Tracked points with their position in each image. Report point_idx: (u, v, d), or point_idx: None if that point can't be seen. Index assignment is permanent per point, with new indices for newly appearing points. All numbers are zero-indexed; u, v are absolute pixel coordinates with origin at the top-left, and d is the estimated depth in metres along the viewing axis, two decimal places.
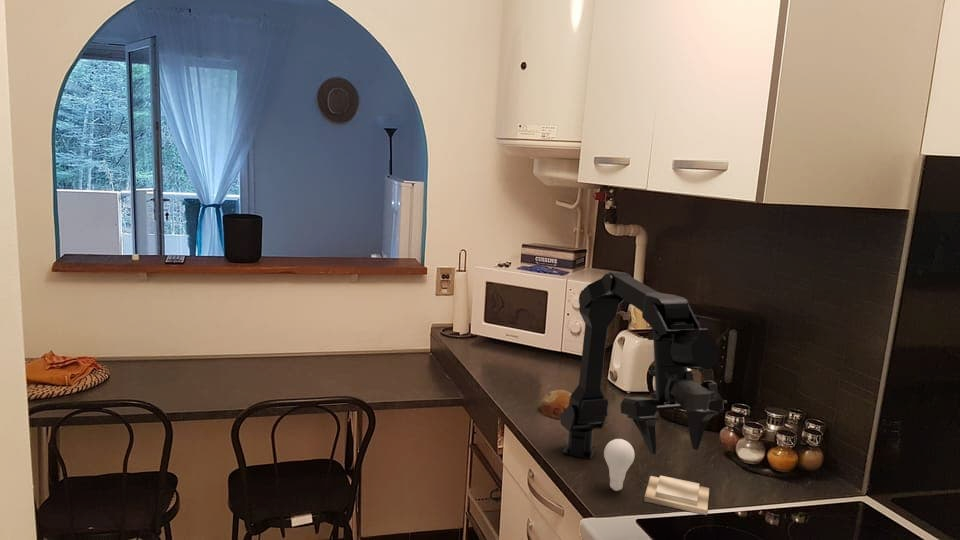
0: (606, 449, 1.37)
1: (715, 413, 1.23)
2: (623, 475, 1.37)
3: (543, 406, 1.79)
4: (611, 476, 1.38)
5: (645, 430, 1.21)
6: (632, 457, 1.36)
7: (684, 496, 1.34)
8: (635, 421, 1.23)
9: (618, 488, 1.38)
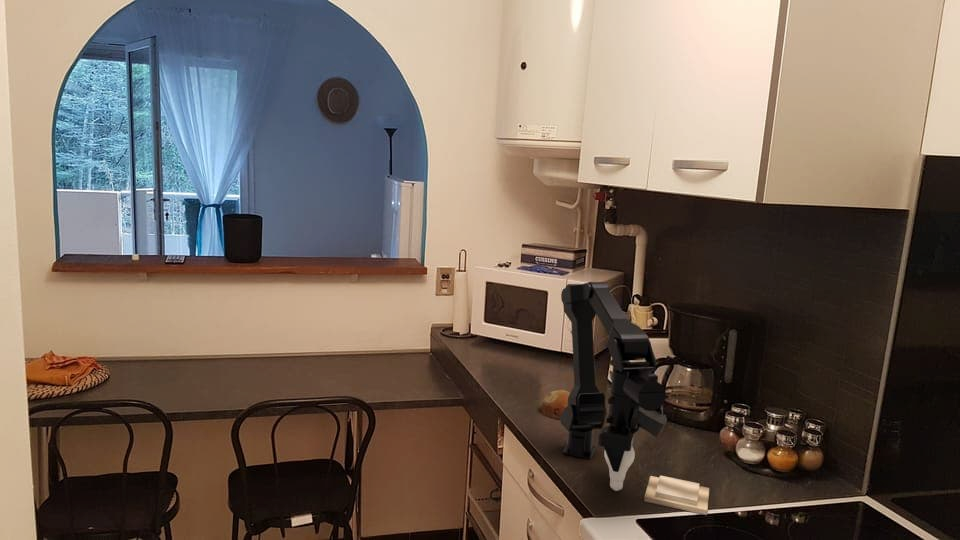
0: None
1: (639, 427, 1.42)
2: (623, 475, 1.37)
3: (543, 406, 1.79)
4: (611, 476, 1.38)
5: (615, 453, 1.34)
6: (632, 457, 1.36)
7: (684, 496, 1.34)
8: None
9: (618, 488, 1.38)
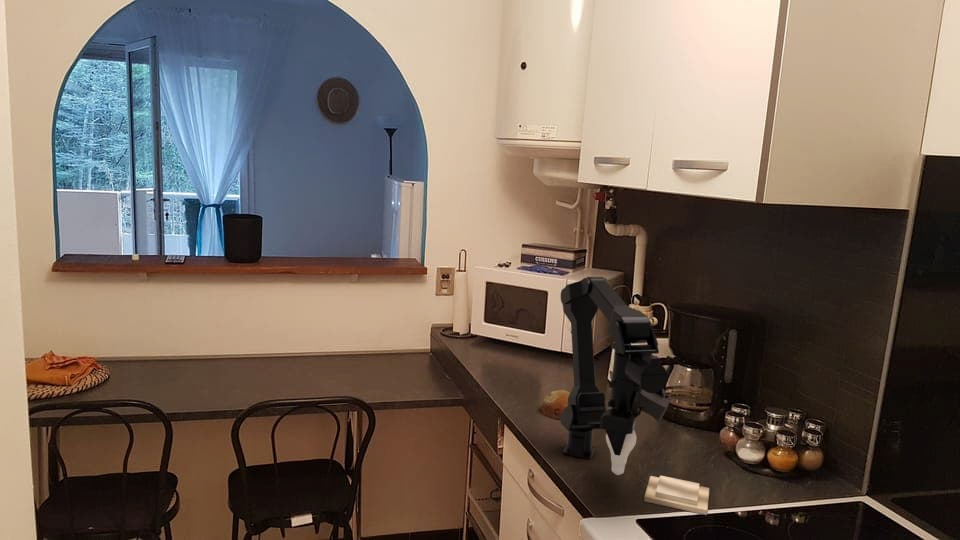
0: None
1: (640, 411, 1.41)
2: (625, 459, 1.37)
3: (544, 406, 1.79)
4: (613, 460, 1.37)
5: (616, 436, 1.33)
6: (634, 440, 1.35)
7: (684, 496, 1.34)
8: (607, 429, 1.33)
9: (620, 472, 1.37)
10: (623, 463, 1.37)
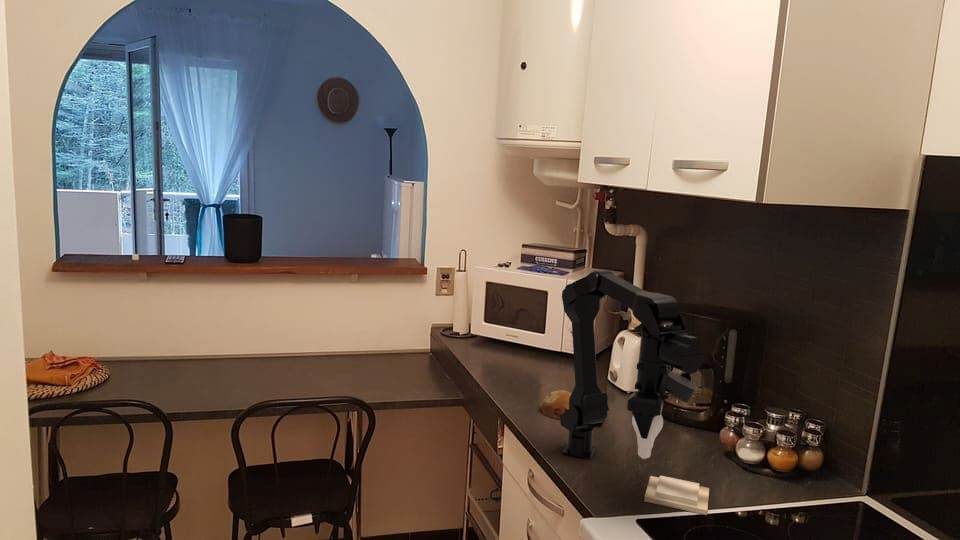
0: None
1: None
2: (651, 442, 1.35)
3: (544, 406, 1.79)
4: (639, 443, 1.36)
5: (643, 419, 1.32)
6: (661, 424, 1.34)
7: (684, 496, 1.34)
8: (633, 412, 1.32)
9: (646, 455, 1.36)
10: (650, 447, 1.35)
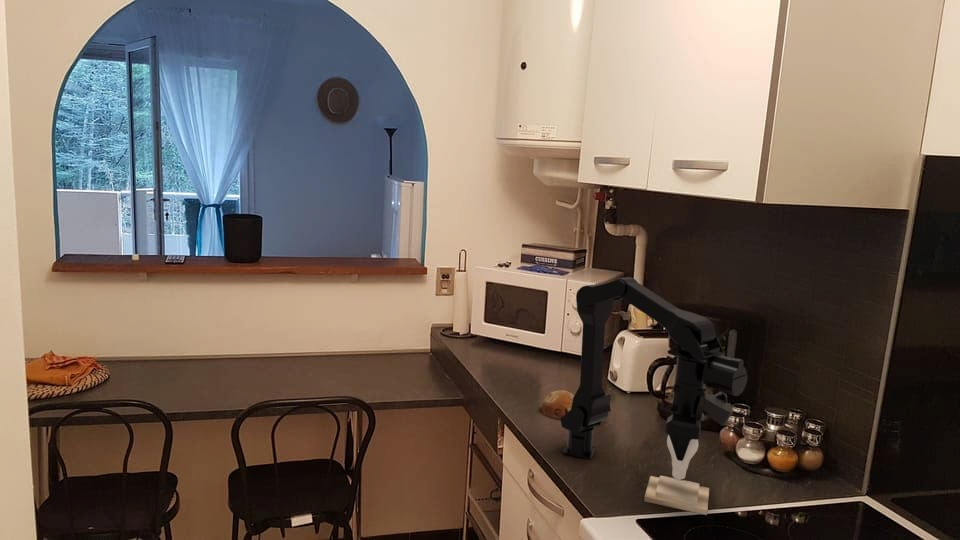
0: None
1: None
2: (687, 464, 1.36)
3: (544, 407, 1.79)
4: (674, 465, 1.36)
5: (680, 441, 1.32)
6: (696, 445, 1.34)
7: (684, 496, 1.34)
8: (670, 434, 1.32)
9: (681, 477, 1.36)
10: (685, 468, 1.36)
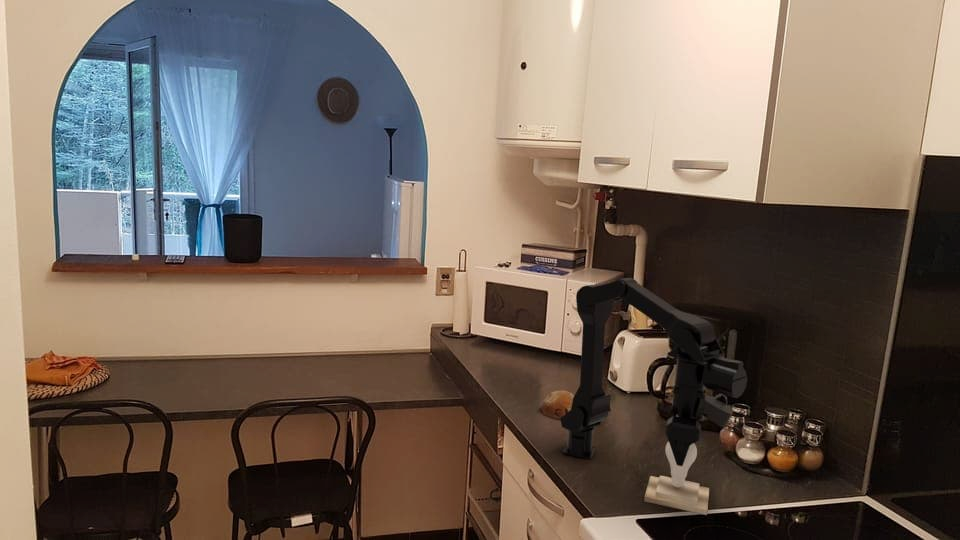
0: (668, 446, 1.36)
1: None
2: (685, 472, 1.36)
3: (544, 407, 1.79)
4: (673, 473, 1.36)
5: (679, 446, 1.31)
6: (695, 454, 1.34)
7: (684, 496, 1.34)
8: (670, 439, 1.30)
9: (680, 485, 1.36)
10: (684, 476, 1.36)
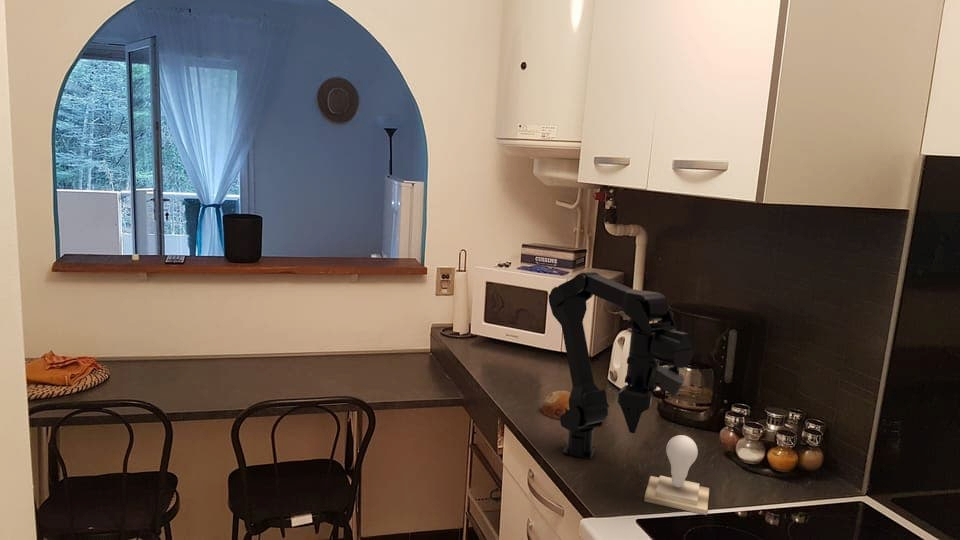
0: (669, 445, 1.36)
1: (656, 386, 1.46)
2: (686, 472, 1.36)
3: (545, 407, 1.79)
4: (673, 473, 1.36)
5: (632, 414, 1.35)
6: (696, 454, 1.35)
7: (684, 496, 1.34)
8: (622, 407, 1.35)
9: (680, 485, 1.36)
10: (684, 476, 1.36)
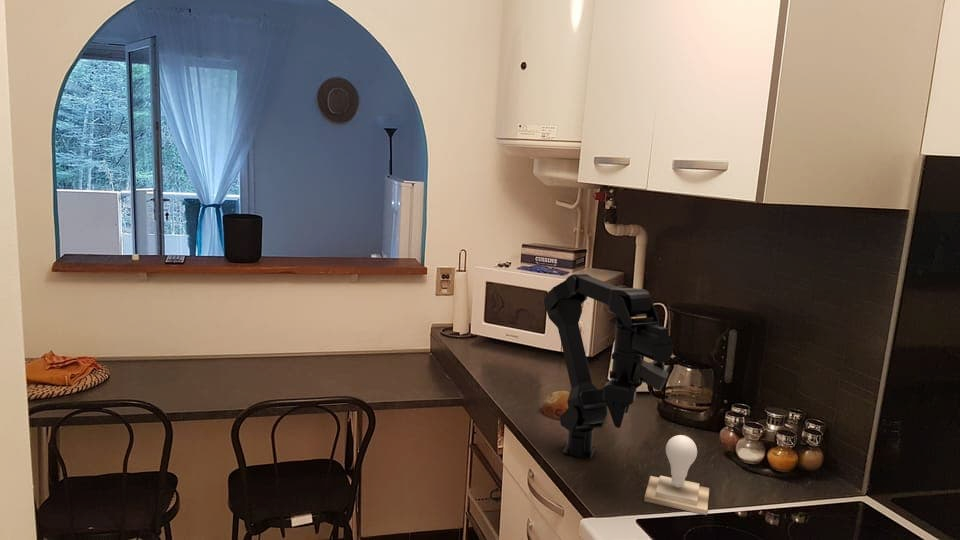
0: (668, 445, 1.36)
1: (642, 382, 1.48)
2: (686, 472, 1.36)
3: (545, 407, 1.79)
4: (673, 473, 1.36)
5: (617, 409, 1.37)
6: (695, 453, 1.35)
7: (684, 496, 1.34)
8: (607, 402, 1.37)
9: (680, 485, 1.36)
10: (684, 476, 1.36)
